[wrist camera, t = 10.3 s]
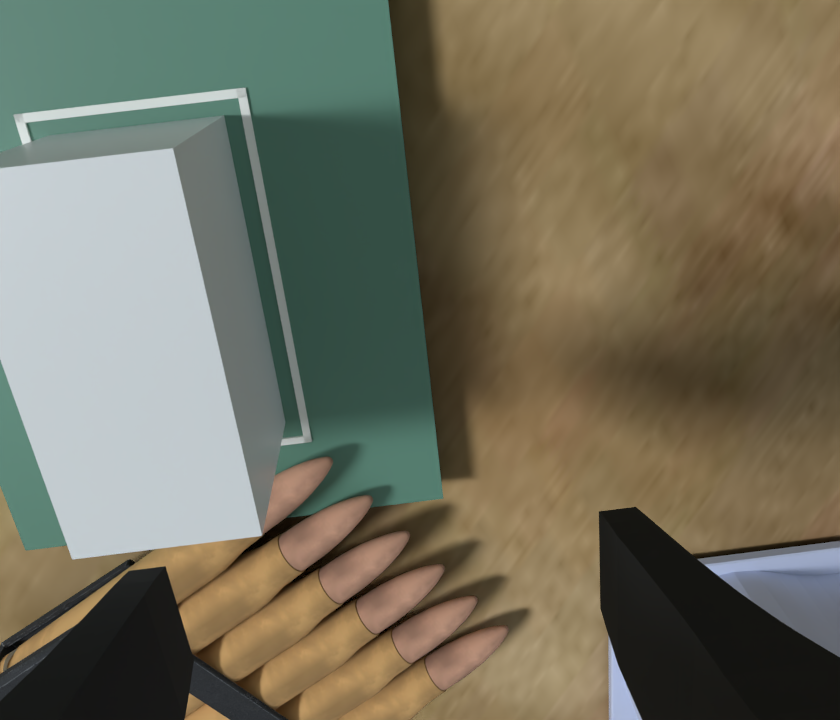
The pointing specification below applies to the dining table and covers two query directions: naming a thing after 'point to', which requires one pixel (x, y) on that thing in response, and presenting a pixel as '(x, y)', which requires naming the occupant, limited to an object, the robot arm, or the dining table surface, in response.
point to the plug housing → (138, 336)
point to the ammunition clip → (293, 620)
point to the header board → (261, 209)
